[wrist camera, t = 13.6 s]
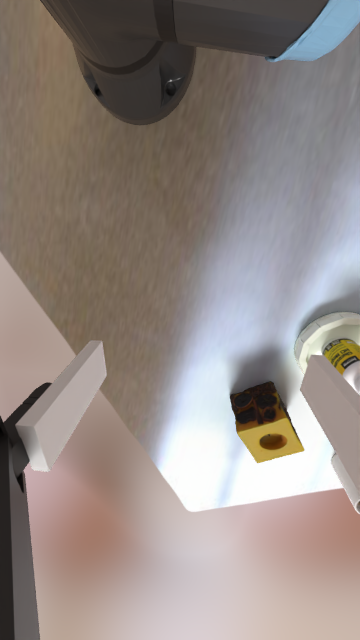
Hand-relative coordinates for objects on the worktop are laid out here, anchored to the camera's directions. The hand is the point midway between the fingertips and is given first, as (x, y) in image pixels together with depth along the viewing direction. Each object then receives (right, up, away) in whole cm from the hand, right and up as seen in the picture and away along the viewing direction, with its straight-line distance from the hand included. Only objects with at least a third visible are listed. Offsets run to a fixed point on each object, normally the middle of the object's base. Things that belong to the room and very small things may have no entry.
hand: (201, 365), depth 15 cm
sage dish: (+29, -2, +30) cm, 42 cm away
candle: (+17, -16, +38) cm, 44 cm away
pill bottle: (+29, -3, +29) cm, 41 cm away
